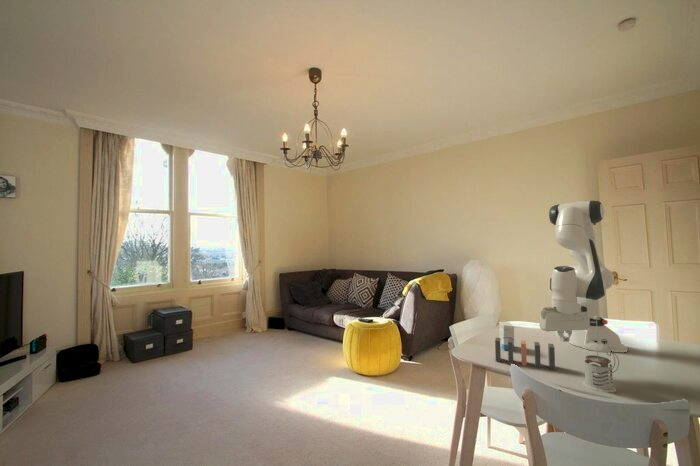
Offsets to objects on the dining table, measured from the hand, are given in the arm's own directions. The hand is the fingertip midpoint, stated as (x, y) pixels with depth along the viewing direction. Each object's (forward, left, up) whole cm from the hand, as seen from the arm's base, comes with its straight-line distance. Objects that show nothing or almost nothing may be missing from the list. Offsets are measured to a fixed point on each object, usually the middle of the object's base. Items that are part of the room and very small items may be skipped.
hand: (564, 341), depth 130 cm
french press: (-9, +12, -12) cm, 19 cm away
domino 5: (+5, 0, -11) cm, 12 cm away
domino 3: (+15, 0, -11) cm, 19 cm away
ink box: (+22, -19, -12) cm, 31 cm away
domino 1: (+25, 0, -11) cm, 27 cm away
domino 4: (+10, 0, -11) cm, 15 cm away
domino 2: (+20, 0, -11) cm, 23 cm away
